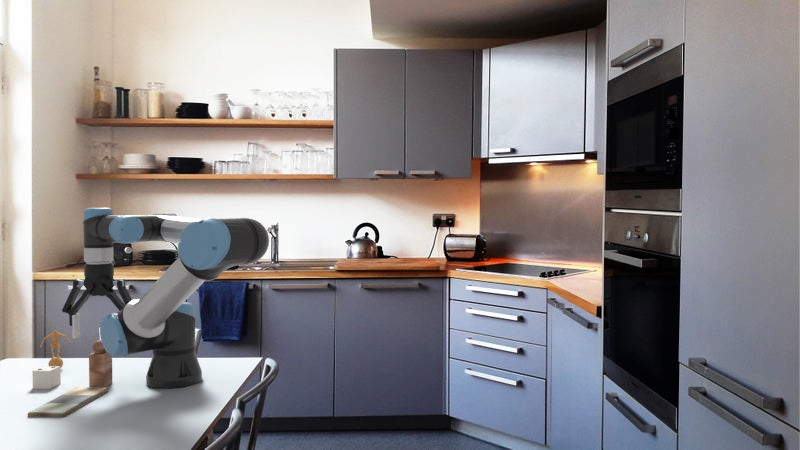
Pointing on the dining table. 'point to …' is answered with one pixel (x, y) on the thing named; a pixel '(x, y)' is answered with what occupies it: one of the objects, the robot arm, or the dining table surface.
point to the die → (46, 377)
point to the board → (68, 402)
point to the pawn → (100, 366)
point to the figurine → (55, 336)
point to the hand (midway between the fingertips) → (99, 337)
